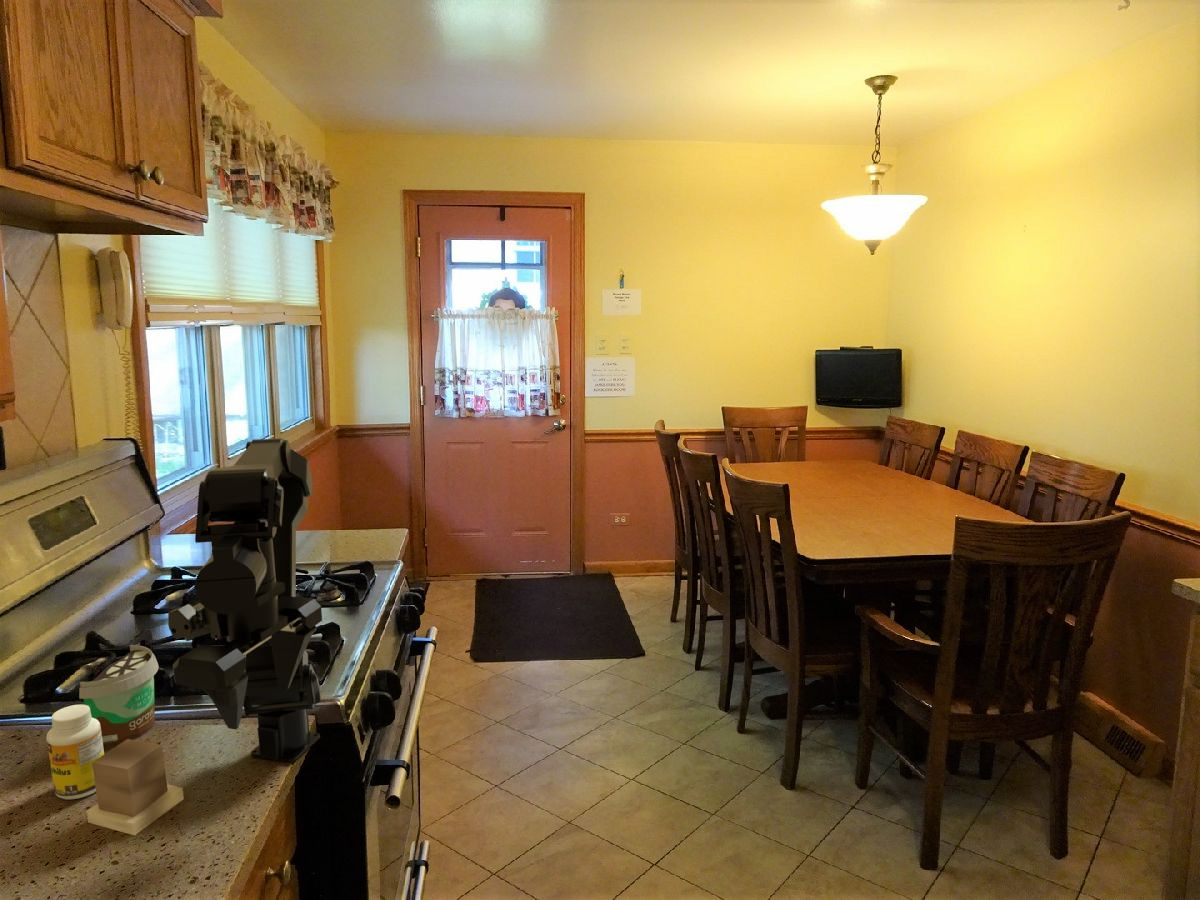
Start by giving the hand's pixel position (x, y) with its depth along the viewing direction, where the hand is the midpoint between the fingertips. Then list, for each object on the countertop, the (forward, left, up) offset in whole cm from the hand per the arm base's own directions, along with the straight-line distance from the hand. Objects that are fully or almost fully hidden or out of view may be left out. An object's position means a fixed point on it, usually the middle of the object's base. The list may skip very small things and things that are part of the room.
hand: (259, 707), depth 95 cm
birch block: (+4, -15, -14) cm, 21 cm away
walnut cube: (+4, -15, -12) cm, 19 cm away
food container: (-11, -29, -13) cm, 34 cm away
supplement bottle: (+2, -25, -13) cm, 28 cm away
